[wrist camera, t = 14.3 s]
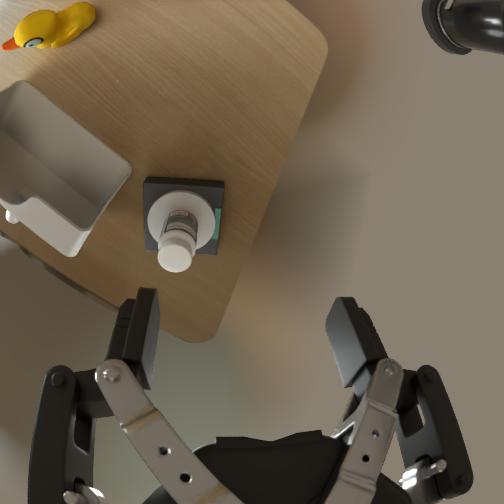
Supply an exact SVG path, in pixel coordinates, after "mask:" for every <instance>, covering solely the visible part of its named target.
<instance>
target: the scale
mask: <svg viewBox="0 0 504 504" xmlns="http://www.w3.org/2000/svg"><path fill="white" fill-rule="evenodd" d="M223 196H224V182H221V181H209V180H196V179H181V178H164V177H147V178H146V179H145V181H144V183H143V199H144V229H145V247H146V250H149V251H159V250H158V242H159V238H160V235H161V232H162V228H163V225H164V221H165V218H166V217H167V215H168V214H169V213H170V212H172V211H173V210H176V209H185V210H188V211H190V212H192V213H193V214H194V215H195V217H196V218H197V221H198V232H197V243H196V251H195V254H208V255H217V247H218V238H219V229H220V221H221V212H222V204H223Z"/></svg>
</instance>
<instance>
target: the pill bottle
mask: <svg viewBox="0 0 504 504" xmlns="http://www.w3.org/2000/svg"><path fill="white" fill-rule="evenodd" d="M197 232H198V221H197V218H196V217H195V215H194V214H193V213H192V212H190V211H188V210H185V209H176V210H173V211H172V212H170V213H169V214H168V215H167V217H166V218H165V221H164V225H163V228H162V232H161V235H160V238H159V242H158V250H159V252H158V261H159V263H160V265H161V266H162V267H163V268H164V269H166V270H168V271H171V272H181V271H184V270H186V269H187V268H188V267H189V266H190V264H191V262H192V257H193V256H194V254H195V251H196V243H197Z"/></svg>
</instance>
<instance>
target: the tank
mask: <svg viewBox="0 0 504 504" xmlns="http://www.w3.org/2000/svg"><path fill="white" fill-rule="evenodd" d="M131 172H132V167H131V165H130V163H129V162H128V161H126V160H125V159H124V158H123V157H121V156H120V155H119V154H118V153H116V152H115V151H114V150H112V149H111V148H110V147H109V146H107V145H106V144H105V143H104V142H102V141H101V140H100V139H99V138H97V137H96V136H95V135H94V134H92V133H91V132H90V131H89V130H87V129H86V128H85V127H84V126H82V125H81V124H80V123H79V122H77V121H76V120H75V119H74V118H72V117H71V116H70V115H69V114H67V113H66V112H65V111H64V110H62V109H61V108H60V107H59V106H57V105H56V104H55V103H54V102H52V101H51V100H50V99H49V98H47V97H46V96H45V95H44V94H43V93H41V92H40V91H39V90H38V89H36V88H35V87H34V86H33V85H31V84H30V83H29V82H28V81H25V80H20V81H17V82H15V83H13V84H11V85H10V86H8V87H7V88H5V89H3V90H2V91H0V204H1V205H2V206H3V207H5V208H6V209H7V213H6V219H7V220H8V221H9V222H10V223H17V222H18V221H19V220H20V221H21V222H22V223H23V224H25V225H26V226H27V227H28V228H30V229H31V230H32V231H33V232H35V233H36V234H37V235H38V236H40V237H41V238H42V239H43V240H45V241H46V242H47V243H49V244H50V245H51V246H53V247H54V248H55V249H57V250H58V251H59V252H61V253H62V254H64V255H65V256H68V257H73V256H75V255H76V254H77V253H78V251H79V250H80V248H81V246H82V245H83V243H84V241H85V240H86V238H87V236H88V235H89V233H90V232H91V230H92V229H93V227H94V225H95V224H96V222H97V221H98V219H99V218H100V216H101V215H102V213H103V212H104V210H105V209H106V208H107V206H108V205H109V203H110V202H111V200H112V199H113V197H114V196H115V195H116V193H117V192H118V191H119V189H120V188H121V186H122V185H123V184H124V182H125V181H126V180H127V178H128V177H129V176H130V174H131Z"/></svg>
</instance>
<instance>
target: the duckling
mask: <svg viewBox="0 0 504 504" xmlns="http://www.w3.org/2000/svg"><path fill="white" fill-rule="evenodd" d="M94 19H95V9H94V7H93V6H92V5H91V4H89V3H86V2H81V3H75V4H73V5H71V6H70V7H68V8H67V9H65V10H63V11H60V12H57V13H55V12H54V11H50V10H39V11H36V12H33V13H31V14H29V15H28V16H26V17H25V18H24V19H23V20H22V21H21V22H20V23H19V24H18V26H17V28H16V30H15V35H14V37H13V38H11V39H10V40H9V41H7V42H5V43H4V44H3V45H2V50H5V51H8V50H14V49H17V48H19V47H33V46H37V47H38V48H48V47H54V48H57V47H61V46H63V45H65V44H67V43H69V42H70V41H72V40H74V39H75V38H76V37H77V36H78V35H79V34H80V33H81V32H82V31H83V30H85V29H86V28H87V27H89V26H90V25H91V24H92V23H93V21H94Z"/></svg>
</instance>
